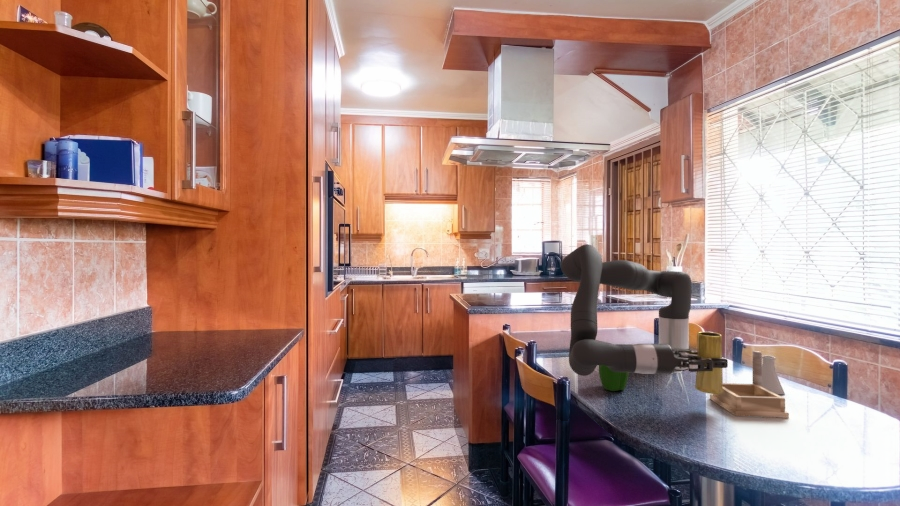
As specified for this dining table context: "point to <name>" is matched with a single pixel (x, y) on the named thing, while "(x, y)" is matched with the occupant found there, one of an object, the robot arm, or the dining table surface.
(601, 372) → the bell pepper
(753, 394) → the stand
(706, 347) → the vase
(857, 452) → the dining table surface
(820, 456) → the dining table surface
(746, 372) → the dining table surface
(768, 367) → the flask
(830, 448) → the dining table surface
